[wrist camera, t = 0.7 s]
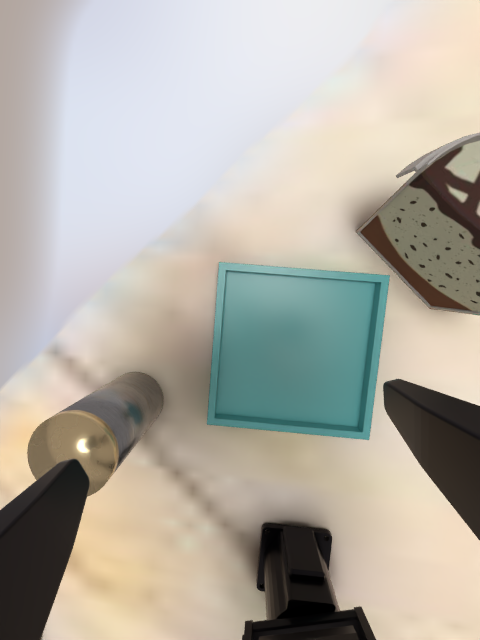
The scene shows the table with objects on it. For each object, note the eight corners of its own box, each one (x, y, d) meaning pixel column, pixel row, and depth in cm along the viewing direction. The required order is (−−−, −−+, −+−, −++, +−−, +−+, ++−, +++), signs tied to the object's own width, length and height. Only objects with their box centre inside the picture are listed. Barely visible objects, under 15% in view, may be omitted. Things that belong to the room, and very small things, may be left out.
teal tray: (361, 431, 24) (369, 439, 22) (209, 416, 24) (206, 424, 23) (380, 277, 23) (389, 275, 21) (221, 264, 23) (219, 262, 22)
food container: (495, 270, 22) (693, 246, 12) (441, 320, 23) (589, 336, 13) (397, 166, 22) (520, 56, 12) (343, 219, 23) (419, 155, 13)
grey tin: (161, 428, 24) (112, 502, 16) (107, 423, 25) (26, 494, 16) (165, 374, 24) (115, 418, 15) (109, 369, 24) (28, 410, 15)
